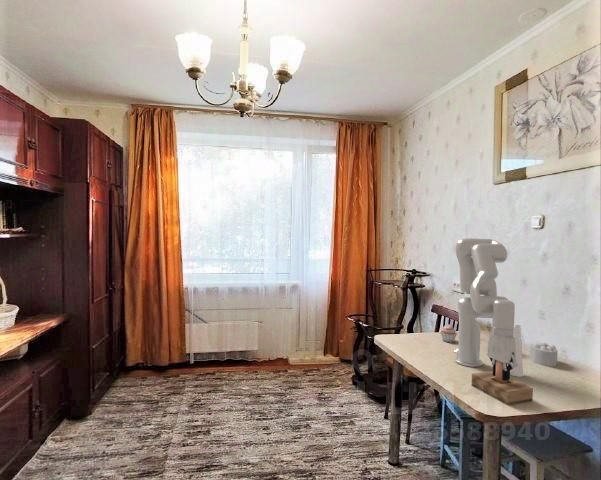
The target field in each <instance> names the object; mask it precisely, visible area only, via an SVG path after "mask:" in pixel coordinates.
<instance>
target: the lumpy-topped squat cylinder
mask: <svg viewBox="0 0 601 480" xmlns="http://www.w3.org/2000/svg"><path fill="white" fill-rule="evenodd" d="M529 360H530V361H532V362H533V363H535V364H537V365H540V366H543V367H550V368H553V367H554V366H555V367H557V366H556V365H558V349H557V348H556V346H555V345H553V344H550V345H549V344H548V343H546V342H534V343H530V345H529Z"/></svg>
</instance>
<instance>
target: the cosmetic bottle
mask: <svg viewBox="0 0 601 480" xmlns="http://www.w3.org/2000/svg"><path fill="white" fill-rule="evenodd" d="M521 326H522V325H518V324H514V337H515V343H516V362H517V364H518V366H517V367H514V368H513V369H512V370H510V376H513V377H519V378H520V377H524V376H525V373H524V366H523V365H524V364H523V340H522V328H521ZM511 364H512V362H511Z"/></svg>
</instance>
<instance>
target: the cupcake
mask: <svg viewBox="0 0 601 480" xmlns="http://www.w3.org/2000/svg"><path fill="white" fill-rule="evenodd" d="M439 333H440V336H441V340H442V341H443V342H444V343H454V342H455V340H456V337H457V335H458V333H457V332H456V329H455V328H454V327H453V326H452V324H449V323H447V324H446V325H444V326H443V327H442V328H441V330H440V331H439Z"/></svg>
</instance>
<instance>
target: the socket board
mask: <svg viewBox="0 0 601 480" xmlns="http://www.w3.org/2000/svg"><path fill="white" fill-rule="evenodd" d="M470 385H471V387H474V388H475V389H477V390H479V391H480V390H481V391H480V392H482V391H483V393H484V394H486V395H488V396H490V397H492V398H494V399H495V400H497V401H499V402H500V403H503V404H505V405H506V406H511V405H516V404H523V403H530V402H533V399H534V397H533V396H534V387H532V386H530V385H527V384H525V383H523V382H520V381H518V380H516V379H514V378H513V377H510V380H507V383H506V384H500V383H498V382H496V381H495V376H493V370H492V371H491V370H490V371H484V372H483V371H482V372H481V371H480V372H475V373H471V384H470Z"/></svg>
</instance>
